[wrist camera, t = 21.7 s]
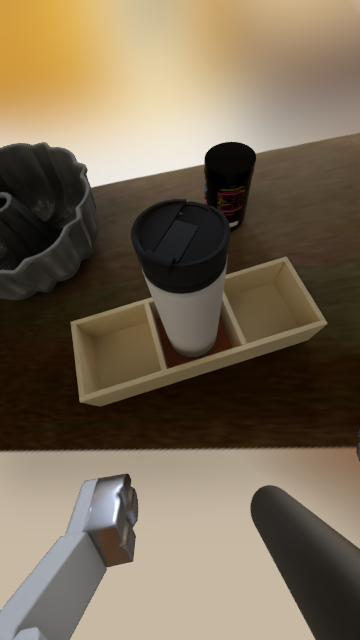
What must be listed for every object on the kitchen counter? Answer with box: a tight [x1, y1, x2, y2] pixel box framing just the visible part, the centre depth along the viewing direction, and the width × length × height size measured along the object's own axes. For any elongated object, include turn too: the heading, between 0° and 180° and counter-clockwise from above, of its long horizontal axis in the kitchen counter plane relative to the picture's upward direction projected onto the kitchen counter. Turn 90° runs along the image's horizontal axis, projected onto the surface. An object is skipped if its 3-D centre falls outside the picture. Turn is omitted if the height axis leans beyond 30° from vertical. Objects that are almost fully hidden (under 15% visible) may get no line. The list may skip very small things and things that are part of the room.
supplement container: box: [204, 142, 256, 231], centre depth 37 cm, size 7×7×10 cm
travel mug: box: [131, 199, 230, 359], centre depth 24 cm, size 6×7×20 cm
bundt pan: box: [0, 142, 98, 300], centre depth 38 cm, size 26×26×10 cm
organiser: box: [71, 257, 328, 406], centre depth 31 cm, size 10×28×6 cm, turn 107°
